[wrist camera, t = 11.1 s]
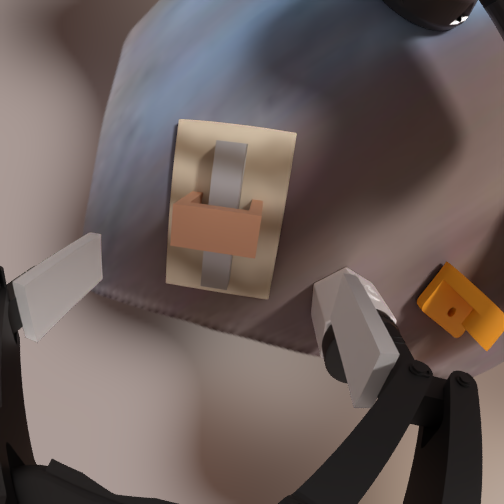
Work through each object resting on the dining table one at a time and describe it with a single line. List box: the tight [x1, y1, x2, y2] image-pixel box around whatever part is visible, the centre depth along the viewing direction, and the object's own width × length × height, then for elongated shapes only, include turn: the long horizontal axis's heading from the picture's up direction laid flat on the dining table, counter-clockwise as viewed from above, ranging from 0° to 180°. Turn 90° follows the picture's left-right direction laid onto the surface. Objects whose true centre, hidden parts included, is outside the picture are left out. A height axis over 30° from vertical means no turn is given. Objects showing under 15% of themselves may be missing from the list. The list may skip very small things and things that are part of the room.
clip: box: [170, 191, 263, 259], centre depth 31 cm, size 4×8×8 cm, turn 82°
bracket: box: [417, 262, 504, 351], centre depth 33 cm, size 11×7×12 cm, turn 56°
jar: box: [311, 267, 402, 383], centre depth 33 cm, size 9×8×12 cm
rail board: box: [166, 119, 297, 300], centre depth 34 cm, size 20×13×4 cm, turn 172°
